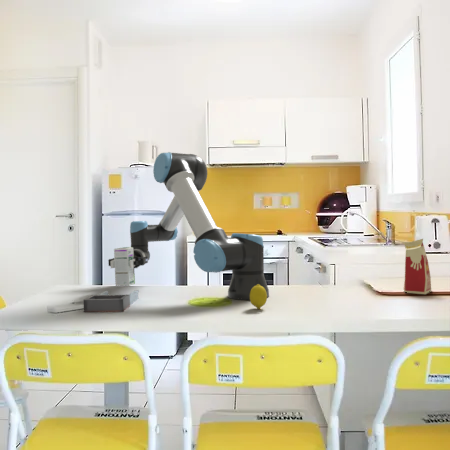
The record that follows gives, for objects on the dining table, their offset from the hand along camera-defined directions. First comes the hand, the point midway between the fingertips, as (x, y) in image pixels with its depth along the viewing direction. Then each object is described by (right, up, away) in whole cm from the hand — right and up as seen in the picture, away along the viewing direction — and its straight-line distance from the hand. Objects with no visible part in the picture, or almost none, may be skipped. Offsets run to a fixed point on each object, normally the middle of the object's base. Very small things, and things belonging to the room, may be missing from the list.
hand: (121, 264), depth 183 cm
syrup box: (+1, -9, +5) cm, 10 cm away
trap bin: (0, -13, -20) cm, 24 cm away
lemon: (+50, -13, -25) cm, 57 cm away
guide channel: (0, -13, -8) cm, 15 cm away
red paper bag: (+111, -11, +1) cm, 111 cm away
